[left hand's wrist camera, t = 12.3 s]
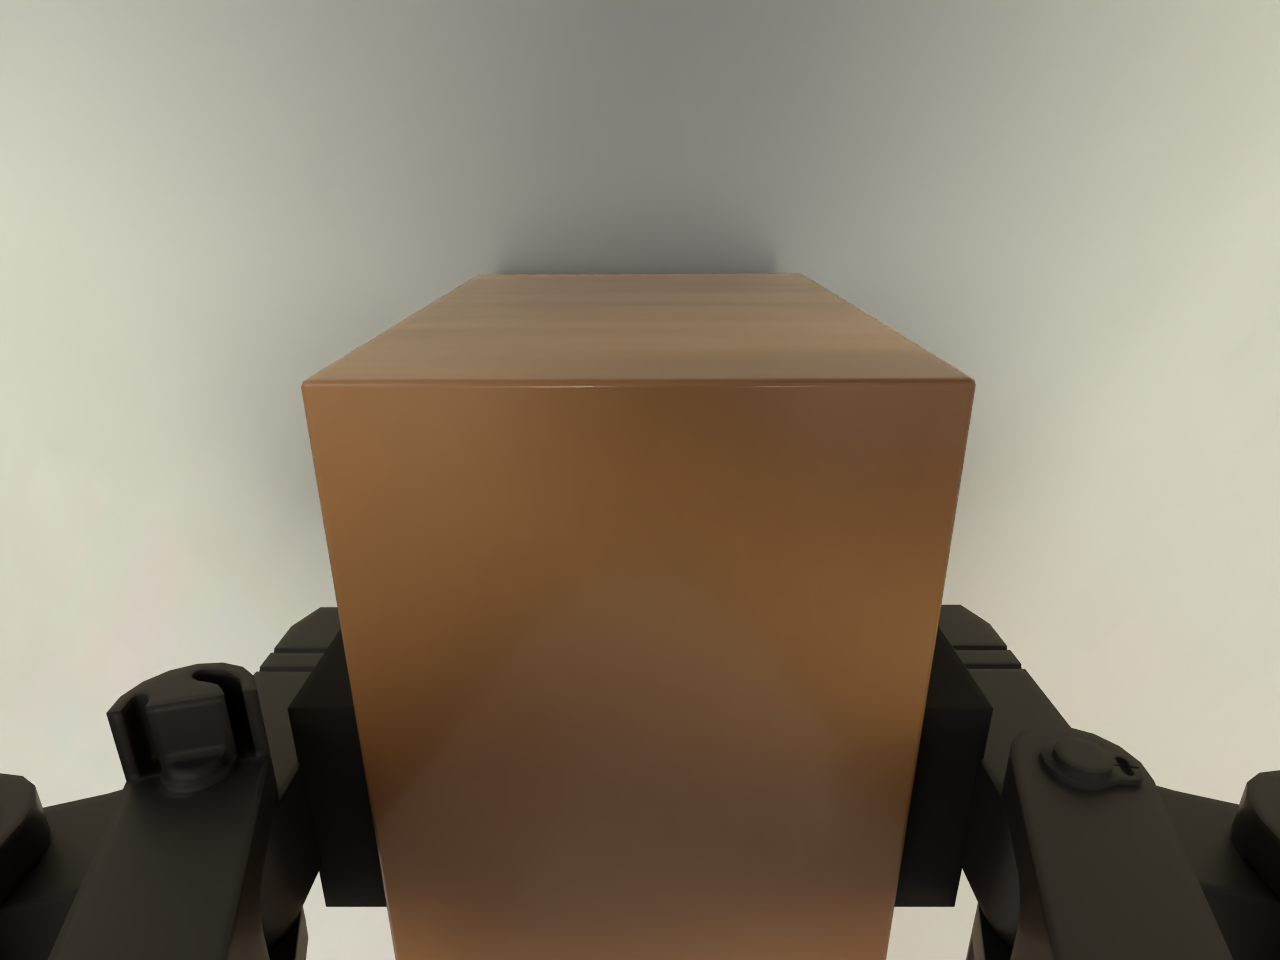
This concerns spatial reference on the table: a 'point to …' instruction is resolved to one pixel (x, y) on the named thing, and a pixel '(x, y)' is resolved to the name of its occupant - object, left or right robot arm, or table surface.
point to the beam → (639, 611)
